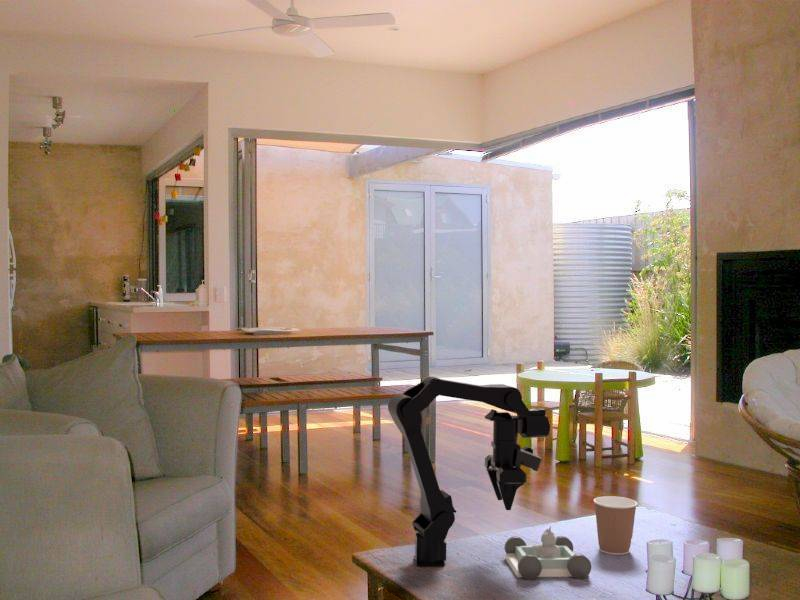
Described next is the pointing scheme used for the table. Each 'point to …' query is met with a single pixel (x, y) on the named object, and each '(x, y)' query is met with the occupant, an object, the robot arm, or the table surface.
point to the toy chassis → (546, 560)
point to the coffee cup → (615, 523)
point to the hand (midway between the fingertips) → (504, 504)
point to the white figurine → (547, 546)
